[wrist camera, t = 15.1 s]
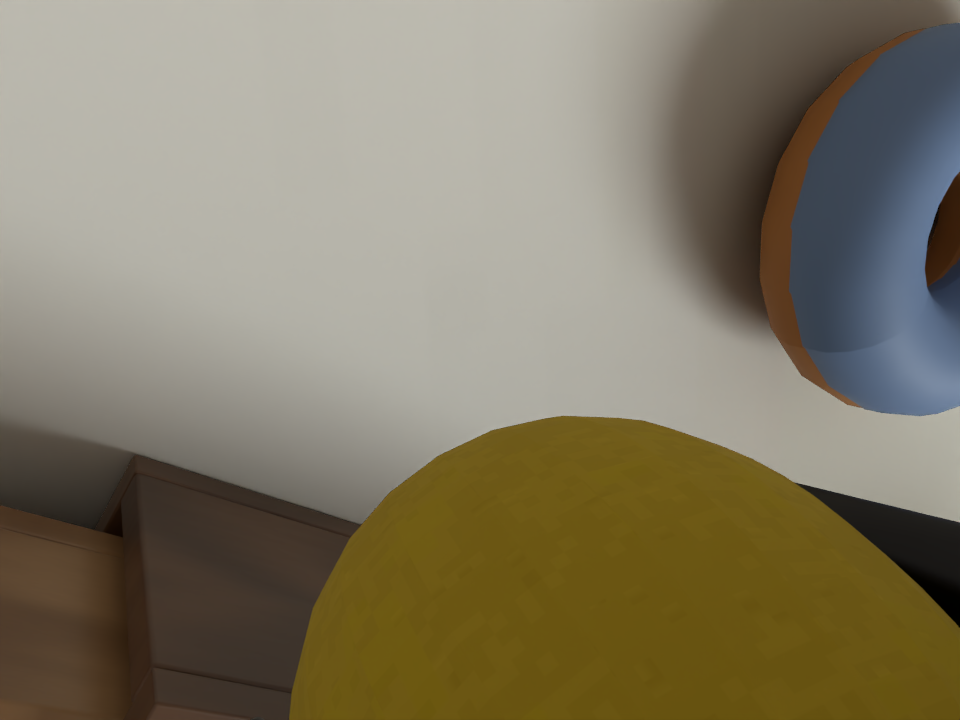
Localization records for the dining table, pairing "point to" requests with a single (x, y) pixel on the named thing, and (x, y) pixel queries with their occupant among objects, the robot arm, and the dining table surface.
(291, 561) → the cabinet
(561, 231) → the dining table surface
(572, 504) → the lemon
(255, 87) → the dining table surface
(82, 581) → the drawer
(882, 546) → the robot arm
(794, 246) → the doughnut
